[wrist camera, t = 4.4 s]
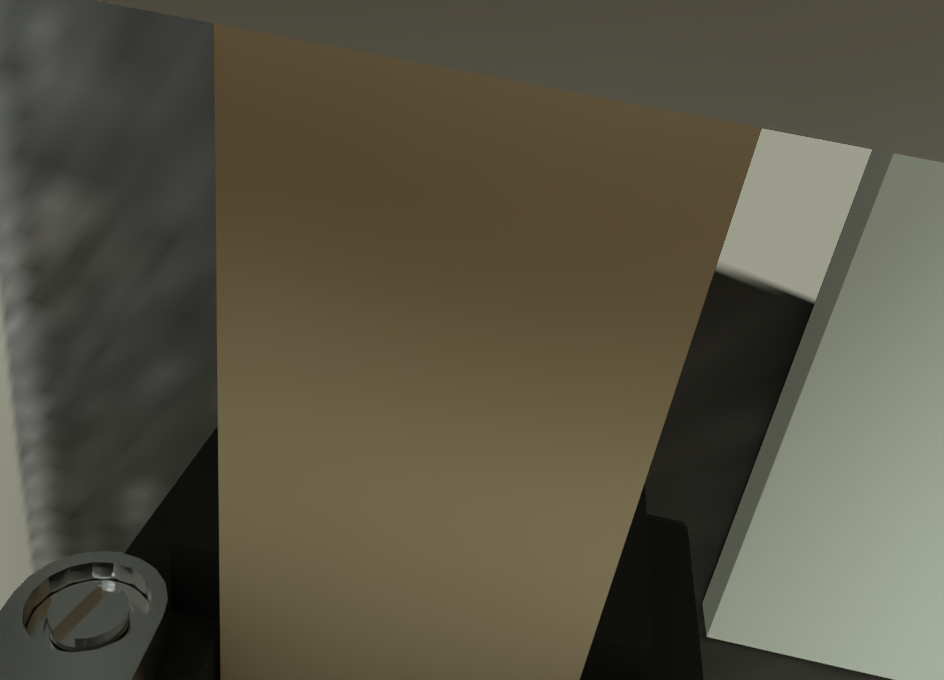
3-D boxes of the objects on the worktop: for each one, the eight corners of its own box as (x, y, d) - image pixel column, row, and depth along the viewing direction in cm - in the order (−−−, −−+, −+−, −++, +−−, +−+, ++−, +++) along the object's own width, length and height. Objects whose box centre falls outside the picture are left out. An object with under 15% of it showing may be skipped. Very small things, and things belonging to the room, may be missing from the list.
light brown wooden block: (594, 752, 17) (578, 1154, 12) (246, 671, 17) (86, 1027, 12) (917, -122, 9) (1302, -51, 4) (258, -237, 9) (-185, -307, 4)
